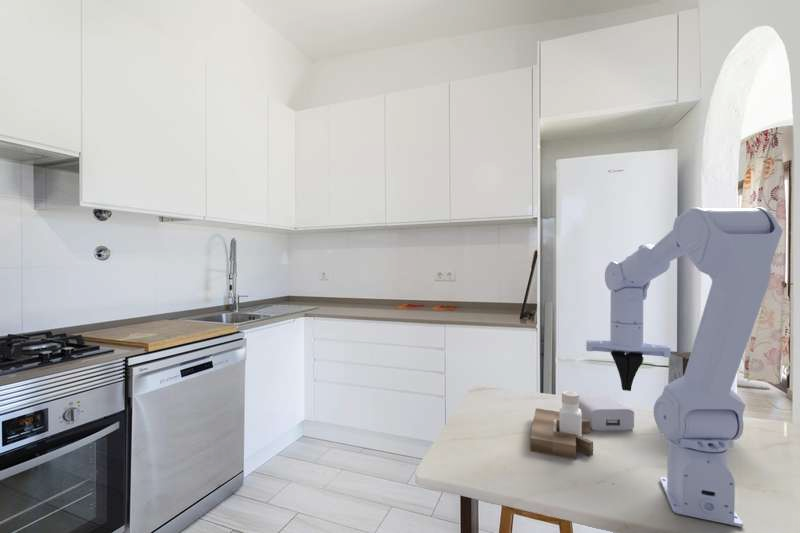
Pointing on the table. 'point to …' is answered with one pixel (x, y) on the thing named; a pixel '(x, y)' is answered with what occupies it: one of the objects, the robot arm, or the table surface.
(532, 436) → the locating nest
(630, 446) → the table surface
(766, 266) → the robot arm
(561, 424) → the pepper shaker
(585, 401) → the charger
